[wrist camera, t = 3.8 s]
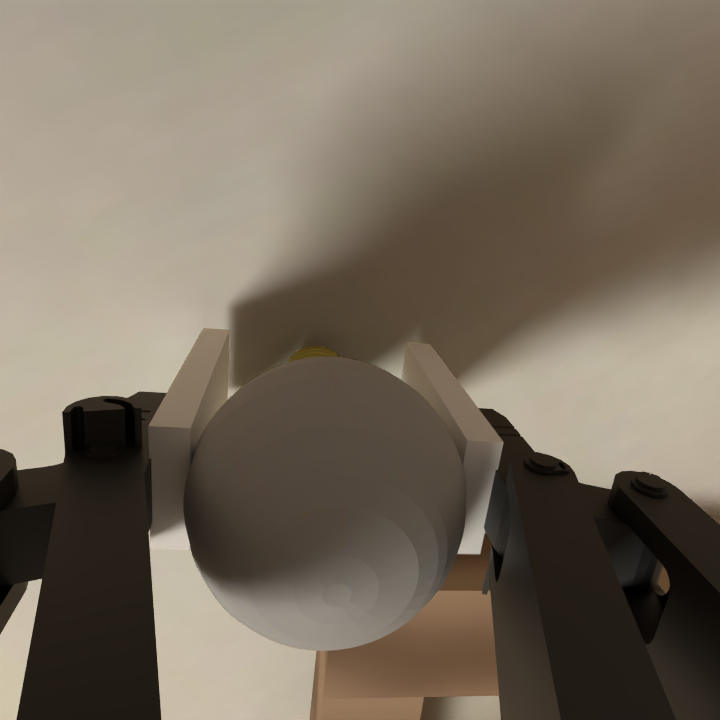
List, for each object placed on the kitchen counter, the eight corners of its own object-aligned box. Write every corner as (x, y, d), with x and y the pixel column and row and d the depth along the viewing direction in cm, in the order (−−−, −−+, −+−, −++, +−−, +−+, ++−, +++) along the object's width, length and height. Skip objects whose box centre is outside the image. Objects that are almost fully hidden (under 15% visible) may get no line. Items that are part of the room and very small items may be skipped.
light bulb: (355, 255, 17) (430, 369, 7) (424, 401, 19) (553, 641, 9) (195, 334, 17) (74, 540, 8) (279, 470, 19) (264, 770, 10)
